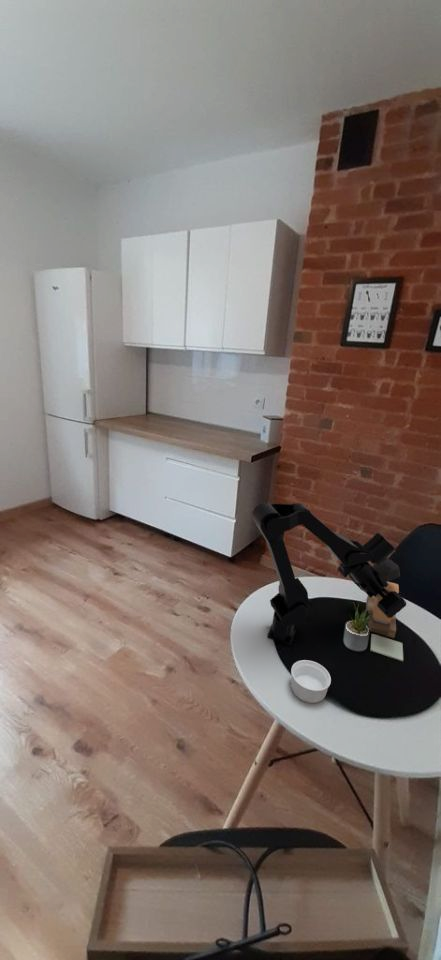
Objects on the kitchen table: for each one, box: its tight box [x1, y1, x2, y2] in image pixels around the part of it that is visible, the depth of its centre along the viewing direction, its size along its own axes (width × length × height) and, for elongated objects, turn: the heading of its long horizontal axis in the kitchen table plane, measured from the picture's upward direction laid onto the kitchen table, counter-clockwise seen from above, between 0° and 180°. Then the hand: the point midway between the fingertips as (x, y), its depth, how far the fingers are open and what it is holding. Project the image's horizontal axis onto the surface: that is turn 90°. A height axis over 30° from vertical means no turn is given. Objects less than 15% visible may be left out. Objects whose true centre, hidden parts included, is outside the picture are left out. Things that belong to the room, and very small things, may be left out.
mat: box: [370, 633, 404, 662], centre depth 105 cm, size 7×8×1 cm
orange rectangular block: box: [372, 581, 400, 625], centre depth 112 cm, size 5×5×13 cm
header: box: [365, 595, 397, 639], centre depth 117 cm, size 16×8×2 cm, turn 158°
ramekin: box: [290, 659, 332, 704], centre depth 89 cm, size 9×9×4 cm
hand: (388, 604), depth 112 cm, fingers closed on orange rectangular block, 7 cm apart
